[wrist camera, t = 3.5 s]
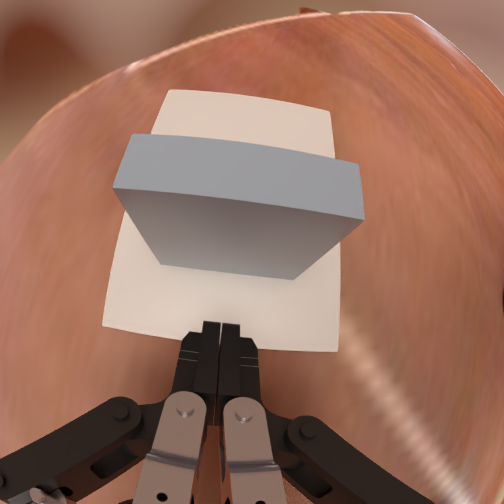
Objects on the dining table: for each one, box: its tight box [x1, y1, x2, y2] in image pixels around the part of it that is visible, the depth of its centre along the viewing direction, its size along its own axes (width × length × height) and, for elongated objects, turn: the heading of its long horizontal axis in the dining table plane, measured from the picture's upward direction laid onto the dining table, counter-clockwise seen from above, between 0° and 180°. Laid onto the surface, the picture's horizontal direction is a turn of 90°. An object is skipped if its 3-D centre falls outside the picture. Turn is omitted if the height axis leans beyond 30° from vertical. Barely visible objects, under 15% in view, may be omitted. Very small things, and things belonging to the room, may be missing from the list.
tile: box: [112, 134, 365, 280], centre depth 14 cm, size 2×9×10 cm, turn 85°
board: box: [102, 90, 340, 352], centre depth 21 cm, size 22×16×1 cm
